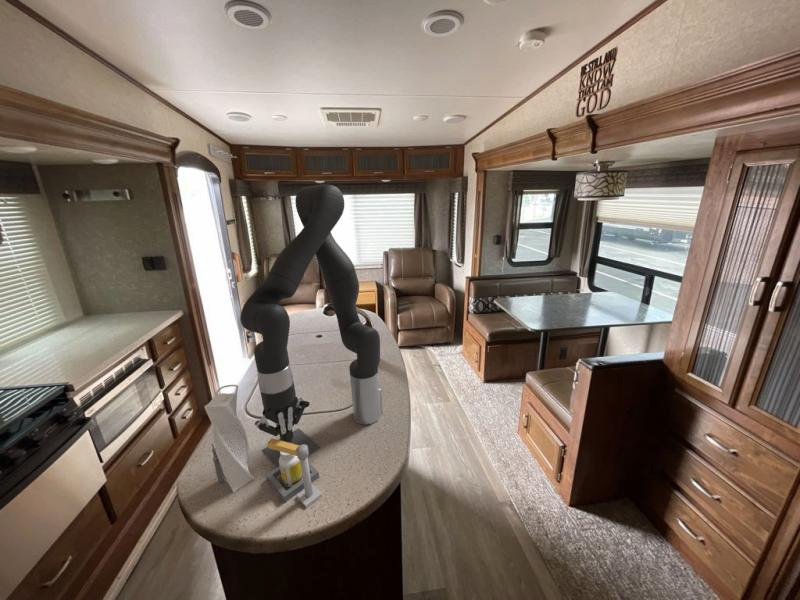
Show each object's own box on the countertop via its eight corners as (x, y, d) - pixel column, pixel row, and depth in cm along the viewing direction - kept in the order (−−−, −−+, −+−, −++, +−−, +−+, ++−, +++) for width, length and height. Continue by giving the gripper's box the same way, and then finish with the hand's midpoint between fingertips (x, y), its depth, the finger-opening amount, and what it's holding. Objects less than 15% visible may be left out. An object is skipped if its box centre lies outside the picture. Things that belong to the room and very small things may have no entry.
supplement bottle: (305, 469, 86) (301, 441, 83) (300, 487, 81) (295, 457, 78) (286, 470, 86) (280, 442, 83) (279, 488, 80) (273, 458, 77)
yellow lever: (311, 452, 75) (310, 445, 74) (304, 460, 72) (303, 453, 72) (274, 442, 78) (273, 436, 77) (266, 450, 76) (265, 443, 75)
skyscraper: (248, 463, 89) (229, 377, 80) (262, 478, 84) (243, 388, 75) (217, 482, 83) (192, 392, 74) (229, 500, 78) (204, 406, 69)
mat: (298, 429, 101) (298, 428, 101) (319, 447, 93) (319, 446, 93) (262, 450, 93) (262, 449, 93) (282, 472, 85) (282, 471, 85)
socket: (299, 458, 90) (294, 421, 86) (330, 488, 80) (326, 449, 76) (266, 480, 83) (259, 441, 79) (296, 516, 73) (288, 474, 69)
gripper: (294, 366, 80) (302, 421, 86) (241, 389, 71) (254, 449, 77) (309, 376, 75) (318, 434, 81) (255, 402, 66) (269, 466, 72)
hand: (287, 441), depth 79 cm, fingers closed
